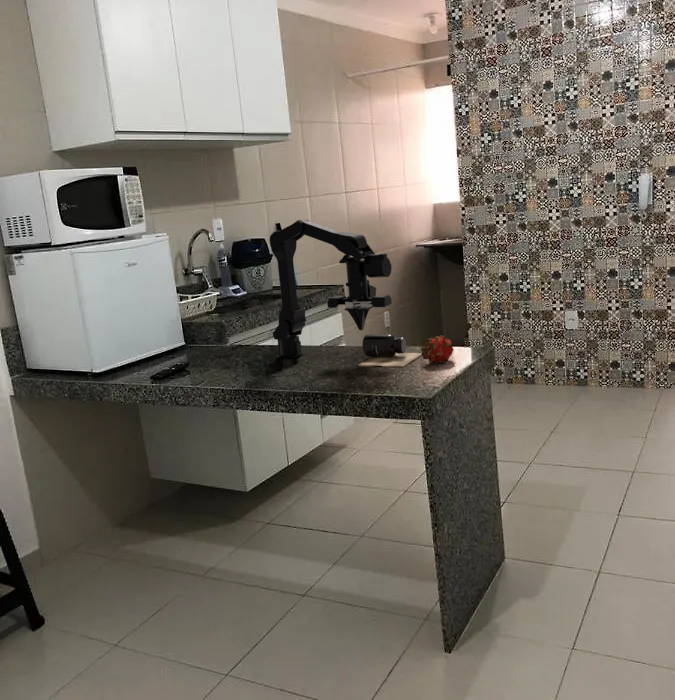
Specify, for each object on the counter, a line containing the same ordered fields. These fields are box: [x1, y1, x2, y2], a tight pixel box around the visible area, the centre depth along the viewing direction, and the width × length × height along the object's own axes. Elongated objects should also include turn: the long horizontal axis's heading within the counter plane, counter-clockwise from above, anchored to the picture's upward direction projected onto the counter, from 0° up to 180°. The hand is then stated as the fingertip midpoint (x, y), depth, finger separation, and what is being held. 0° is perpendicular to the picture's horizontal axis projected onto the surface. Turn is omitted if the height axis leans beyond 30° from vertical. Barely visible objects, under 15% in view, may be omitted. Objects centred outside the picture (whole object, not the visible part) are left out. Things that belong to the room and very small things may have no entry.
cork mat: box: [358, 352, 423, 368], centre depth 220 cm, size 14×16×1 cm
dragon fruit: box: [420, 334, 454, 365], centre depth 211 cm, size 8×8×12 cm
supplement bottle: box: [361, 333, 407, 358], centre depth 223 cm, size 7×7×12 cm
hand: (361, 330), depth 222 cm, fingers closed
